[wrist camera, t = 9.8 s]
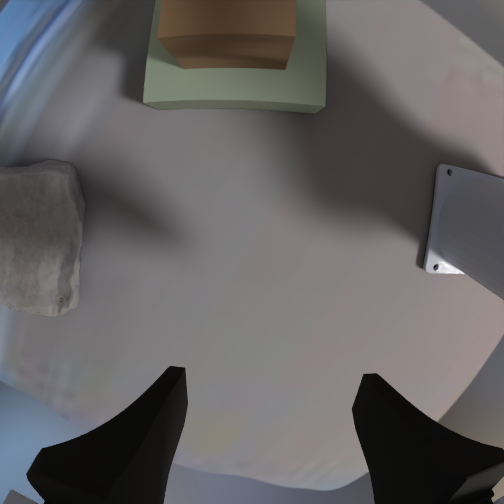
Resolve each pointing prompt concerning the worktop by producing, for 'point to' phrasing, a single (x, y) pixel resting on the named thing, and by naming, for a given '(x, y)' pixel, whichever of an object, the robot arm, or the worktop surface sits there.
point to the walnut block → (228, 32)
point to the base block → (245, 74)
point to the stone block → (41, 237)
